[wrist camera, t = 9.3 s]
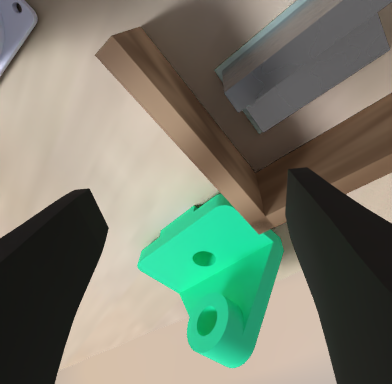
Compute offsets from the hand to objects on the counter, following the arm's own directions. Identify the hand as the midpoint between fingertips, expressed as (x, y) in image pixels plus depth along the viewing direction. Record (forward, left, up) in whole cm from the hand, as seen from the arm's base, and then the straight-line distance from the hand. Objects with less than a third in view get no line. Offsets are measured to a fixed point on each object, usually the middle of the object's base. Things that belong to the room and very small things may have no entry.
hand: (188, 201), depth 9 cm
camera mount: (+10, -8, -11) cm, 17 cm away
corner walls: (+1, +6, -10) cm, 12 cm away
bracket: (+1, +7, -10) cm, 12 cm away
